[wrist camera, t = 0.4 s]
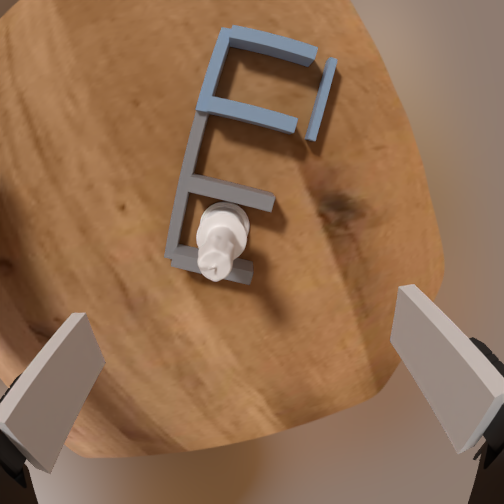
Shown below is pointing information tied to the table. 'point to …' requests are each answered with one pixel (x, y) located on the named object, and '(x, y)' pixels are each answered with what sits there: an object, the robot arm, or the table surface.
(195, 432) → the table surface
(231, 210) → the candle
